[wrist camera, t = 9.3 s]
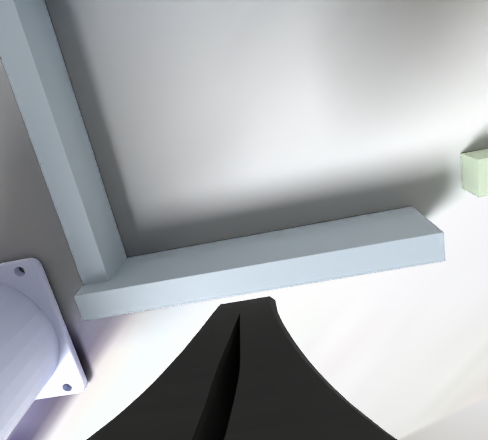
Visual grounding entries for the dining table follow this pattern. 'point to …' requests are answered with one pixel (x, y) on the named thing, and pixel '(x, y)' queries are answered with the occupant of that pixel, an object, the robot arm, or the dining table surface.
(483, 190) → the pale green flat block
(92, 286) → the pale blue square frame
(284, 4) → the dining table surface
